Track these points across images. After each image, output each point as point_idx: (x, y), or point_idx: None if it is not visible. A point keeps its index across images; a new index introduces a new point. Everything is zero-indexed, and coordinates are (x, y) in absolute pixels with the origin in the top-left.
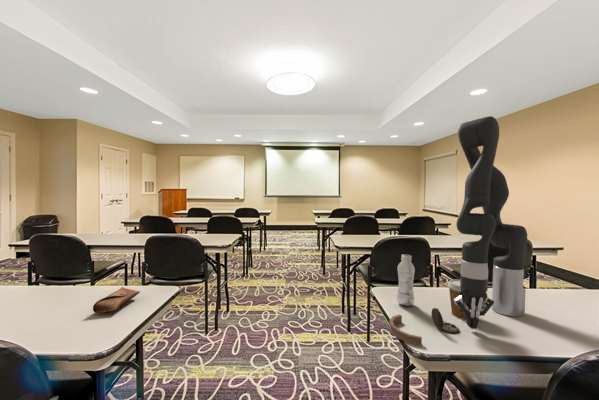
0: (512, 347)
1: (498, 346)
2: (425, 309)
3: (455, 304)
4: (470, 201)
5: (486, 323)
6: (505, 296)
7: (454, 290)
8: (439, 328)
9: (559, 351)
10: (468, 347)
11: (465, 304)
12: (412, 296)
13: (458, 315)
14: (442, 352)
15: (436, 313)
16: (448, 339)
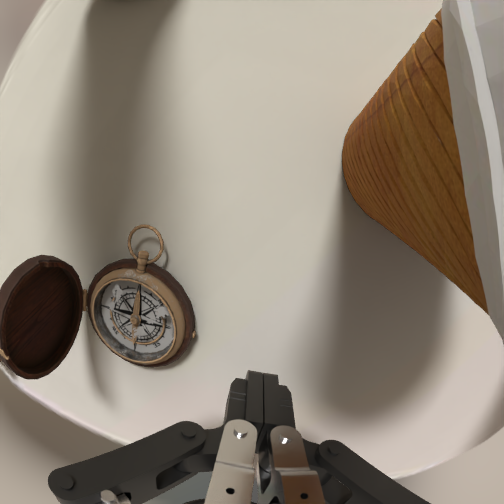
0: None
1: None
2: (208, 20)
3: (97, 456)
4: None
5: (436, 300)
6: None
7: (462, 159)
8: (86, 302)
9: (413, 466)
10: (139, 427)
11: (209, 487)
12: None
13: (353, 190)
14: (48, 401)
15: (8, 349)
16: (93, 370)
